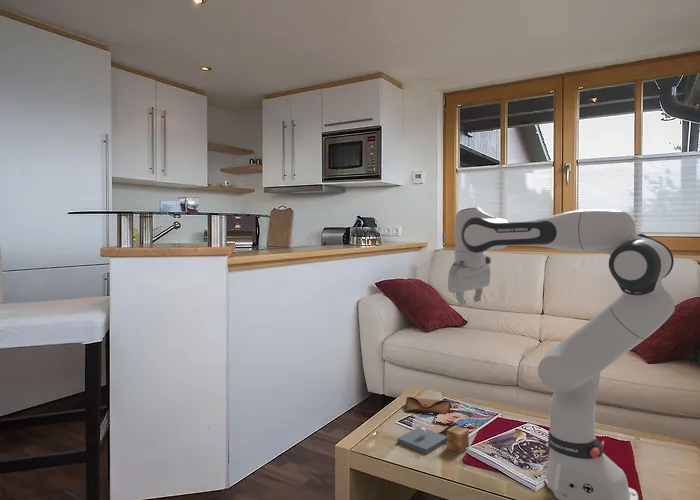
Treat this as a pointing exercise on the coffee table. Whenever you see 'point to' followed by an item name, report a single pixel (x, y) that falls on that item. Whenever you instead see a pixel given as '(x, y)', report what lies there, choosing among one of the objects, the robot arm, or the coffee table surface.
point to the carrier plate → (422, 440)
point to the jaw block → (457, 439)
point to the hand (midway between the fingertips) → (469, 303)
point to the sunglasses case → (427, 406)
